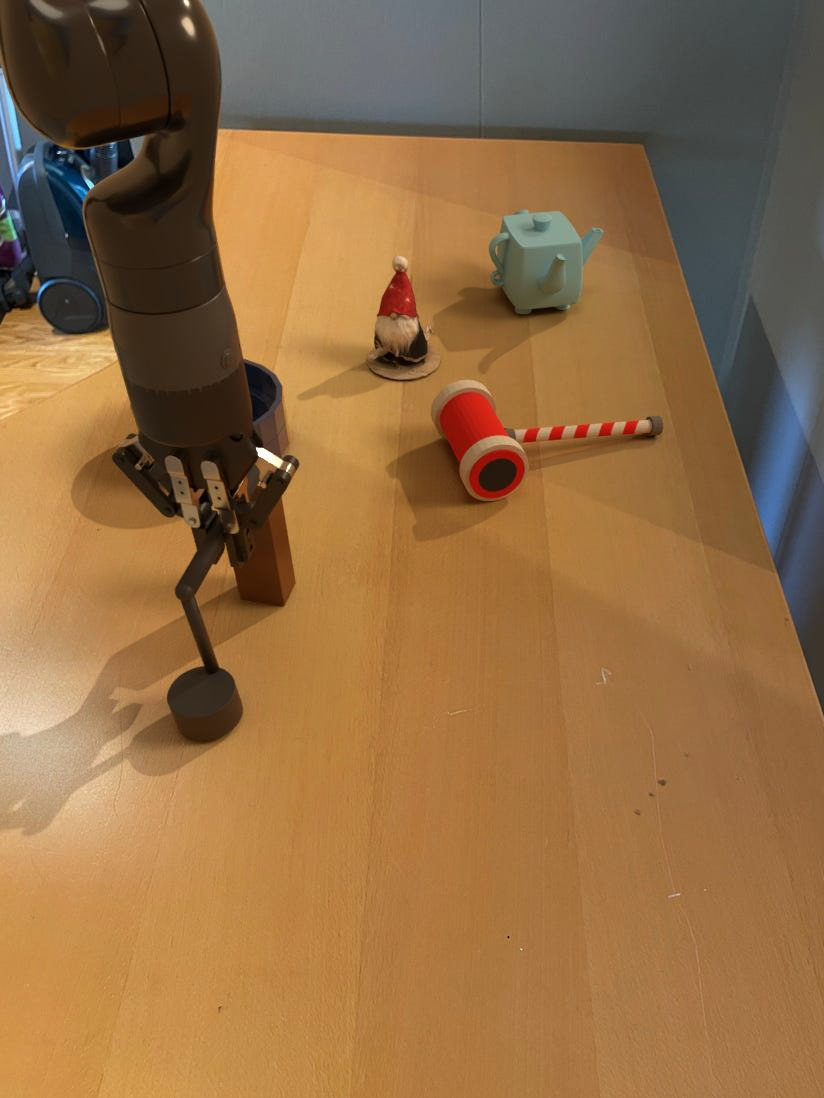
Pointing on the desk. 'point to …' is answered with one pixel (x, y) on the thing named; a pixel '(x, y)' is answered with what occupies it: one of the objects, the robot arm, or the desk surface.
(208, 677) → the ladle
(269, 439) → the bowl
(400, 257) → the figurine
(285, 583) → the upright brown pillar
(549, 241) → the teapot
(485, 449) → the toy hammer
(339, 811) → the desk surface
